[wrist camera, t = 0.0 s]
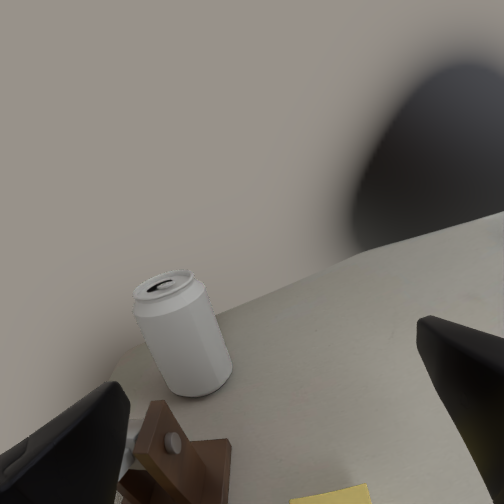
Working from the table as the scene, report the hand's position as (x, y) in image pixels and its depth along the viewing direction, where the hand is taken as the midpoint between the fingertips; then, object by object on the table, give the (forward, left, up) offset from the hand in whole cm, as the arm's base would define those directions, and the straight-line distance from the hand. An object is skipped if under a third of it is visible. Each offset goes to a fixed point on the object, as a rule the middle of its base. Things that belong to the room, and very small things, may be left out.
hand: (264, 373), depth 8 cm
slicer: (+5, +10, -15) cm, 19 cm away
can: (+20, +10, -15) cm, 27 cm away
